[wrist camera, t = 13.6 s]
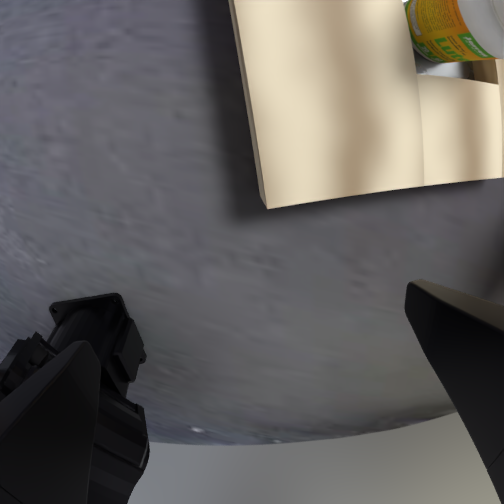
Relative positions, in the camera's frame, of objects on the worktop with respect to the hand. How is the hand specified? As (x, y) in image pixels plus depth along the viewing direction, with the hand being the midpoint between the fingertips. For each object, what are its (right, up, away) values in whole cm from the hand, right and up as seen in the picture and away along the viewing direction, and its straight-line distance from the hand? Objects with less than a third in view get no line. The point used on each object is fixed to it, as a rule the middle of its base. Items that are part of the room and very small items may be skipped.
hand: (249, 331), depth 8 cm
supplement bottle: (+13, +18, +8) cm, 23 cm away
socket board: (+9, +15, +9) cm, 20 cm away
